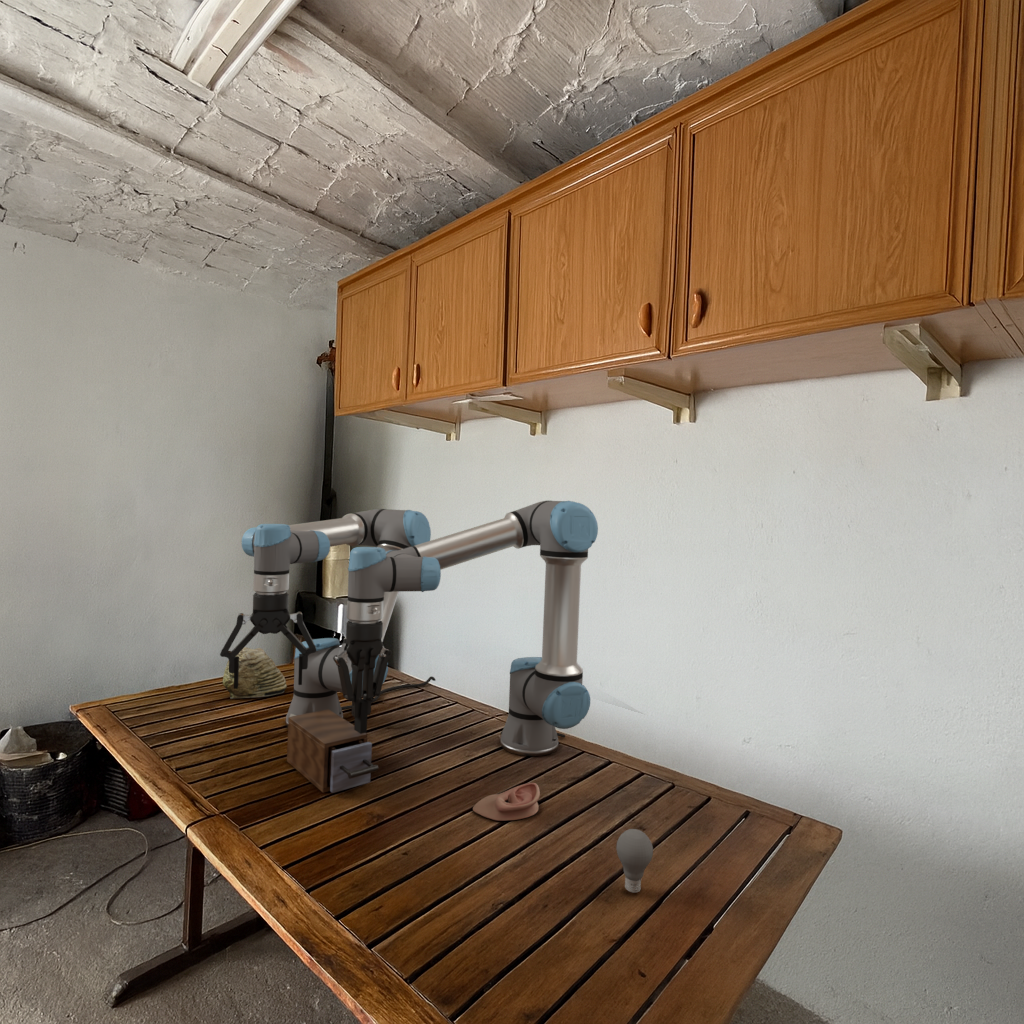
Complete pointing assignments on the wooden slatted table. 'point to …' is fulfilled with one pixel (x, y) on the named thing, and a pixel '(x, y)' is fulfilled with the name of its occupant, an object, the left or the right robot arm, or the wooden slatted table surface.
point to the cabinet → (317, 743)
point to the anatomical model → (510, 803)
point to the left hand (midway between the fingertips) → (268, 685)
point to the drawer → (349, 765)
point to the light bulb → (634, 857)
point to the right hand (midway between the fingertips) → (360, 730)
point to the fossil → (254, 676)
